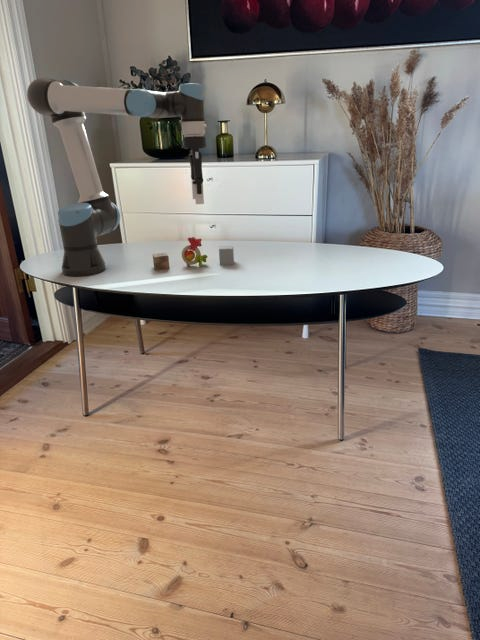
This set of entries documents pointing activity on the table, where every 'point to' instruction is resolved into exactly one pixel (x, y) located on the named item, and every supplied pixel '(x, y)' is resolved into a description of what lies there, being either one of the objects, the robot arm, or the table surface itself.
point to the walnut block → (161, 261)
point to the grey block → (226, 255)
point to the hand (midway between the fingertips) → (198, 201)
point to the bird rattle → (190, 255)
